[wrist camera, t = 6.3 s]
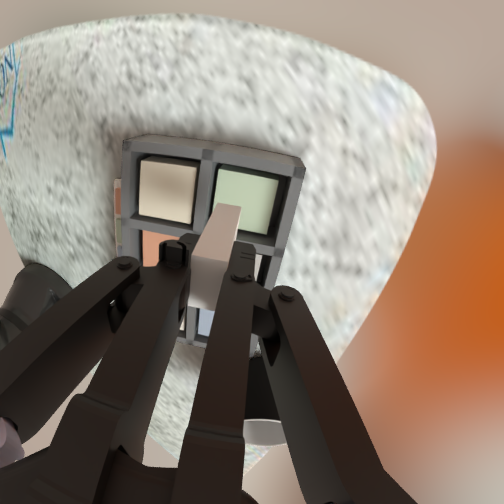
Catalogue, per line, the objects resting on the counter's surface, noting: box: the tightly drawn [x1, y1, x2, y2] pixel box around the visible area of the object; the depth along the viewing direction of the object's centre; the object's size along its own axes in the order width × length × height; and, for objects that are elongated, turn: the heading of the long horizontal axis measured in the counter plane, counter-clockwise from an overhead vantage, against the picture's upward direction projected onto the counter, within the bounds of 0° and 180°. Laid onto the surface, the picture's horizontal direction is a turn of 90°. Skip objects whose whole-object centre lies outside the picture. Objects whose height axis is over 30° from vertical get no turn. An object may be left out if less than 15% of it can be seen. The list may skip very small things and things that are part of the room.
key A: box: [198, 308, 215, 336], centre depth 27 cm, size 4×4×2 cm
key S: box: [139, 156, 201, 224], centre depth 21 cm, size 4×4×2 cm
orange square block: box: [143, 230, 180, 267], centre depth 24 cm, size 4×4×2 cm
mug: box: [243, 357, 287, 446], centre depth 31 cm, size 12×9×10 cm
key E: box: [213, 164, 279, 234], centre depth 22 cm, size 4×4×2 cm
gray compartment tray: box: [114, 134, 306, 357], centre depth 24 cm, size 17×20×4 cm
